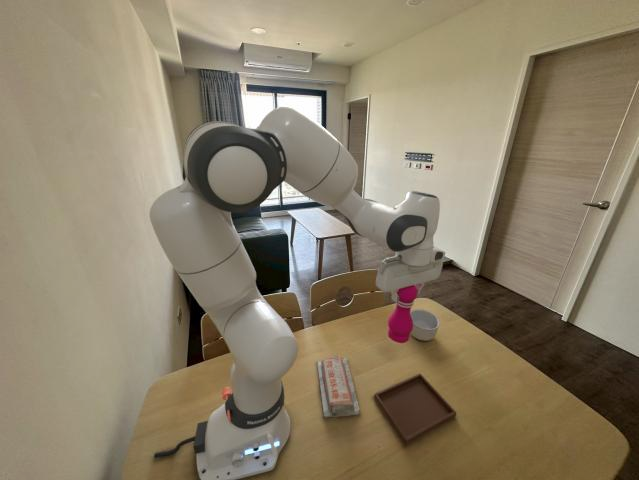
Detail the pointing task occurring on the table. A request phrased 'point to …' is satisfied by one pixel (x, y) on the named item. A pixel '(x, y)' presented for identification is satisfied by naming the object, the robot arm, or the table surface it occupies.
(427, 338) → the teacup
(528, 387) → the table surface
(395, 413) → the tray
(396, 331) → the pepper mill
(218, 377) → the table surface
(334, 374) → the packaged product
